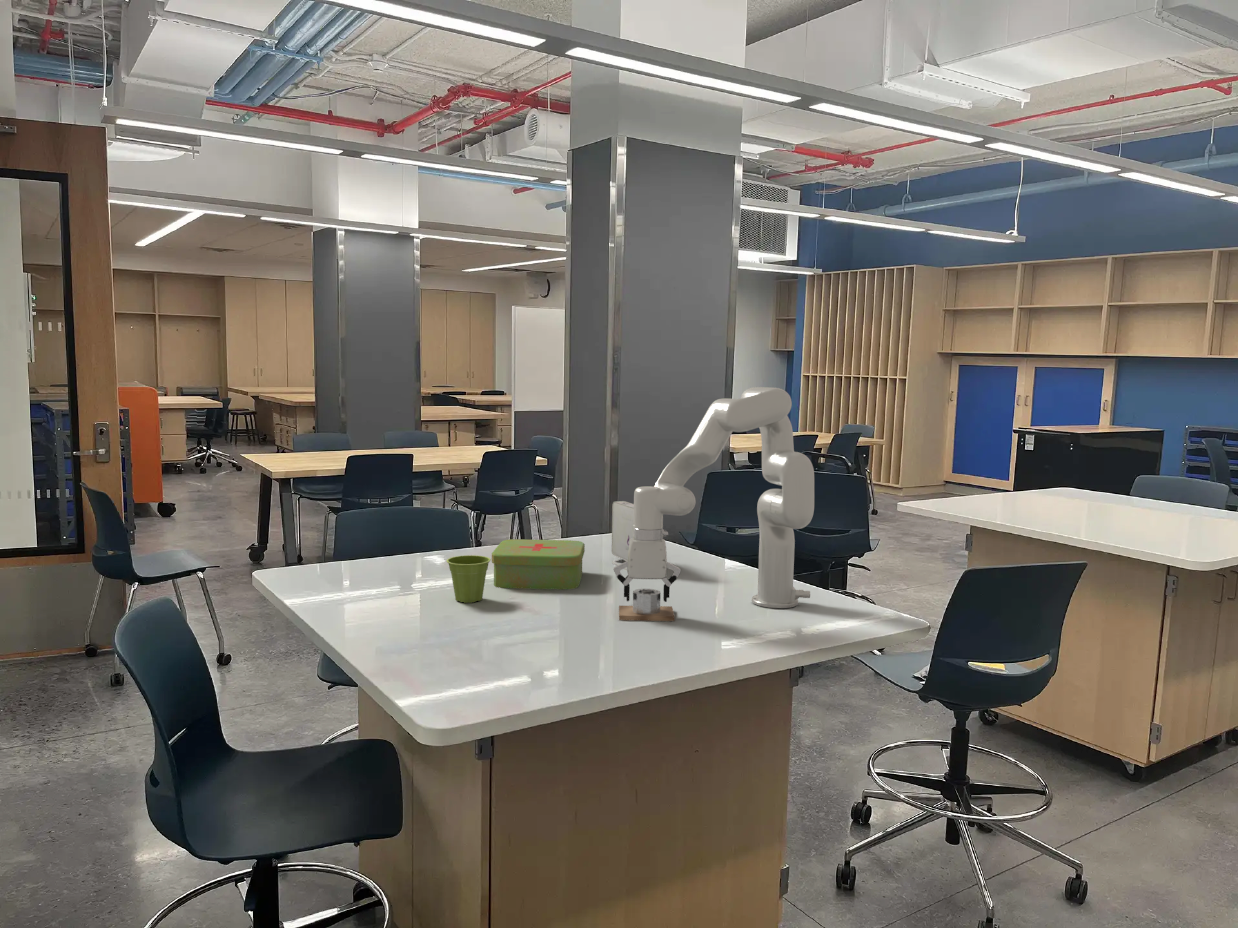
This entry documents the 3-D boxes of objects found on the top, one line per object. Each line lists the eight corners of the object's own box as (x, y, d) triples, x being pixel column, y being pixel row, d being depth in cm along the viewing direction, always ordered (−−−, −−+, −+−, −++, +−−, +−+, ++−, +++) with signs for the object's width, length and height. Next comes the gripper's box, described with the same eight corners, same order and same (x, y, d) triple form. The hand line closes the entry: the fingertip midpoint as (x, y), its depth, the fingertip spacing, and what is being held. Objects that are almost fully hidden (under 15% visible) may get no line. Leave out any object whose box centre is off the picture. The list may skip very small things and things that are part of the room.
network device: (605, 560, 301) (606, 501, 299) (628, 558, 305) (629, 500, 303) (638, 575, 278) (640, 512, 276) (663, 573, 282) (665, 510, 280)
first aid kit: (579, 591, 258) (580, 556, 257) (489, 588, 259) (489, 554, 258) (584, 571, 284) (585, 540, 283) (502, 569, 285) (502, 538, 284)
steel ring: (659, 607, 235) (659, 588, 235) (660, 614, 228) (661, 595, 228) (632, 607, 235) (632, 588, 235) (633, 614, 228) (633, 594, 228)
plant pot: (441, 597, 247) (441, 557, 246) (482, 593, 252) (482, 553, 251) (453, 607, 237) (453, 565, 235) (496, 602, 242) (496, 561, 241)
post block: (671, 610, 237) (672, 587, 236) (674, 620, 227) (675, 596, 226) (618, 609, 237) (619, 586, 236) (619, 620, 227) (619, 596, 226)
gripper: (680, 532, 234) (678, 597, 235) (614, 531, 233) (613, 596, 235) (682, 537, 226) (680, 604, 228) (614, 536, 226) (612, 603, 228)
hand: (646, 600), depth 231 cm, fingers open, 9 cm apart
